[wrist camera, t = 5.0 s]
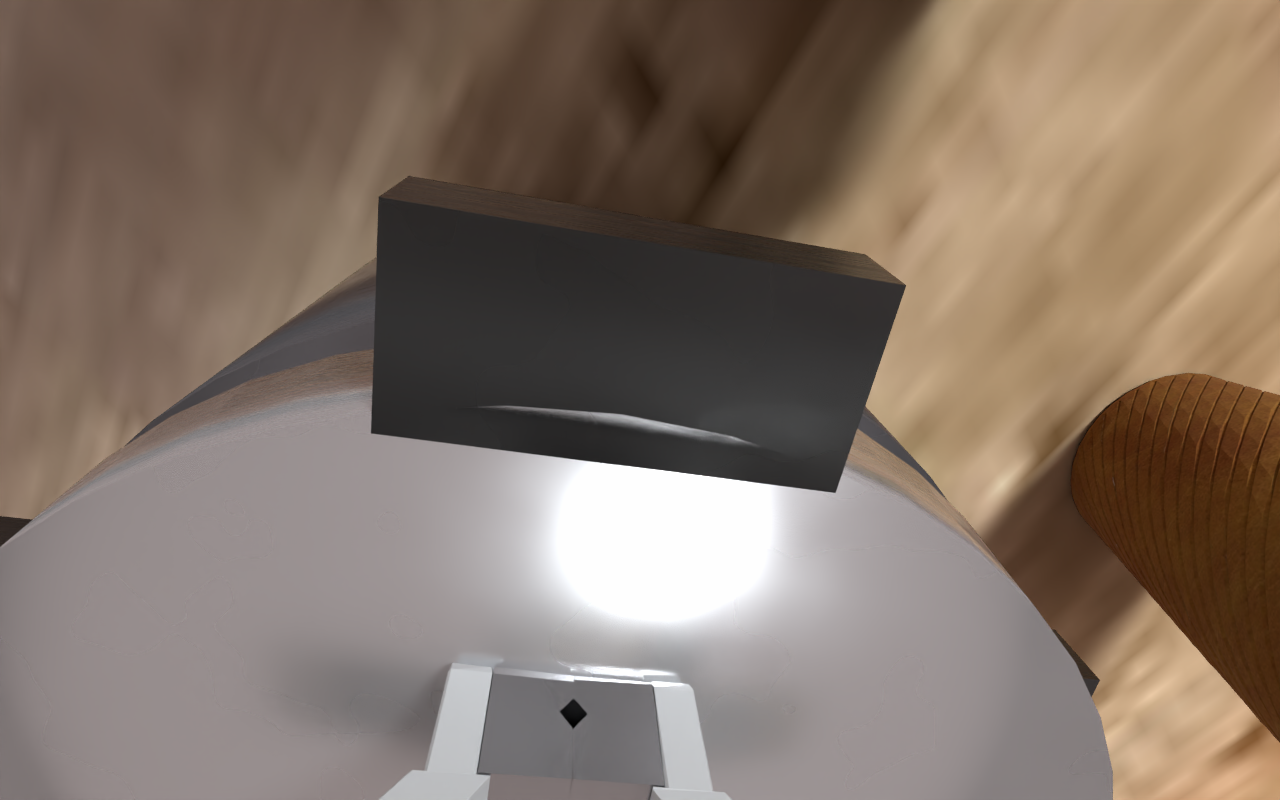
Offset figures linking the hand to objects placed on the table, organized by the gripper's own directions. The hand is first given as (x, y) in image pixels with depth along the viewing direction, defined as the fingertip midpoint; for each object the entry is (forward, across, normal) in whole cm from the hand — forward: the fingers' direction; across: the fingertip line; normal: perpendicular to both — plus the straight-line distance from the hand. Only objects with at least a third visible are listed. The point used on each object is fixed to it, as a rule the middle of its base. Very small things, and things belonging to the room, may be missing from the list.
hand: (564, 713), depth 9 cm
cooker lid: (+2, 0, +4) cm, 4 cm away
